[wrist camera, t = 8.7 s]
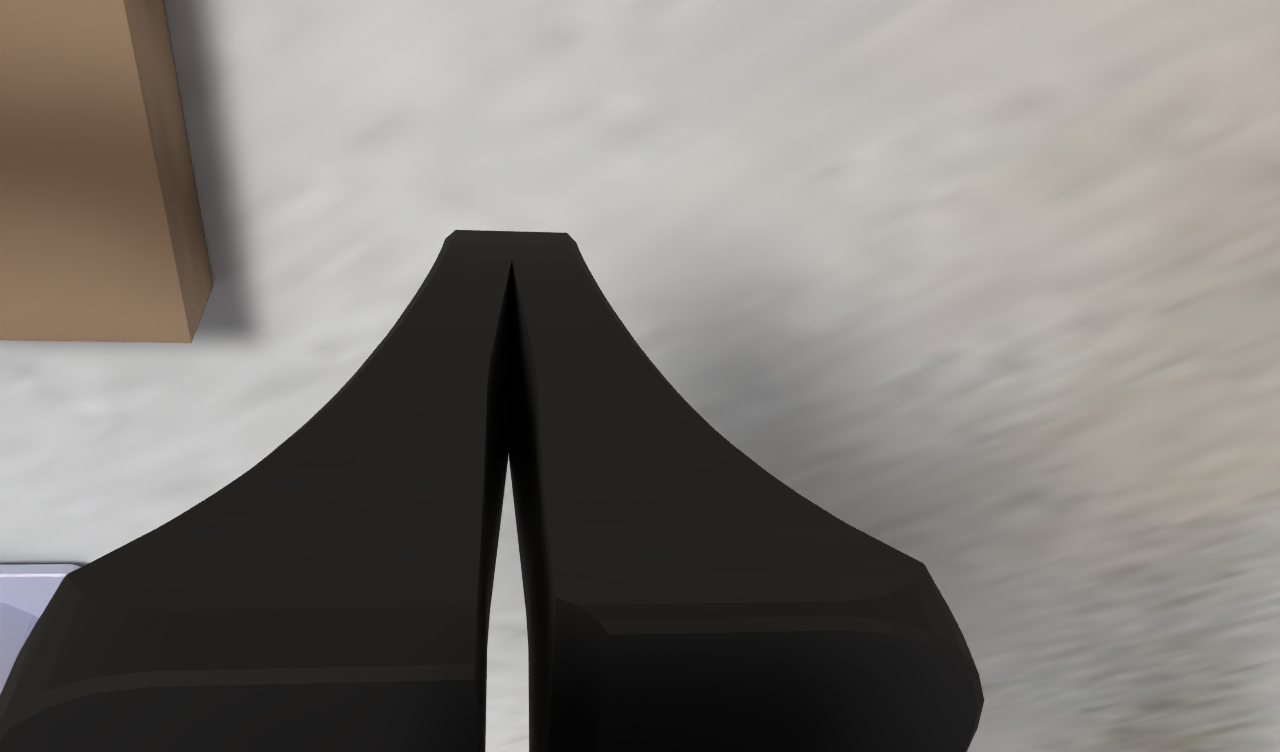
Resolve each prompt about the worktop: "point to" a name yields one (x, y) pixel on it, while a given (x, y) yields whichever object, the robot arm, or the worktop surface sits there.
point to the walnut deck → (95, 177)
